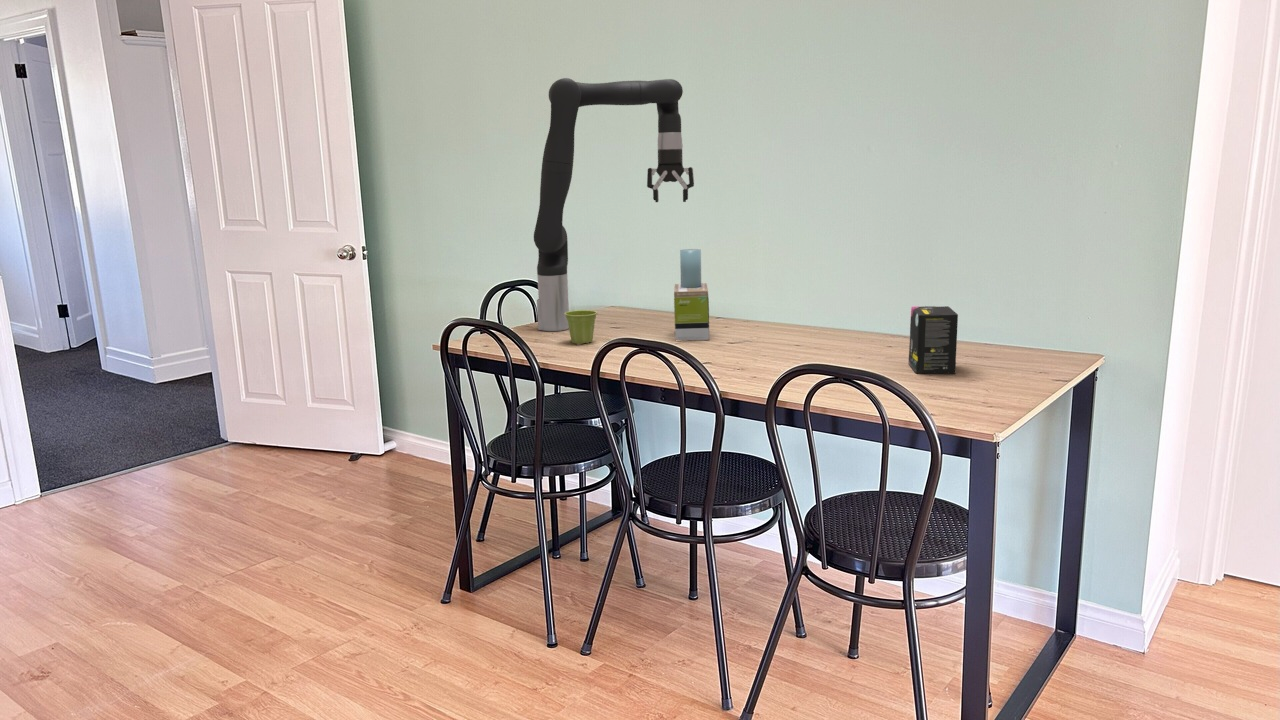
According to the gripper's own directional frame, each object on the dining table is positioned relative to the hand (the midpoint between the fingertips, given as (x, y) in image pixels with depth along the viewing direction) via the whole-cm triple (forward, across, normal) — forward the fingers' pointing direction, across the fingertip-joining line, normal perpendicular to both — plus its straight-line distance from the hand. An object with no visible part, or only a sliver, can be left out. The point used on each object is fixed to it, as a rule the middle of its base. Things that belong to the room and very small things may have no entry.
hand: (670, 202), depth 283 cm
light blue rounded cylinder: (+23, +8, -20) cm, 32 cm away
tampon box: (+38, +70, -60) cm, 100 cm away
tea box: (+38, +8, -20) cm, 44 cm away
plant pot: (+38, -23, -30) cm, 54 cm away
